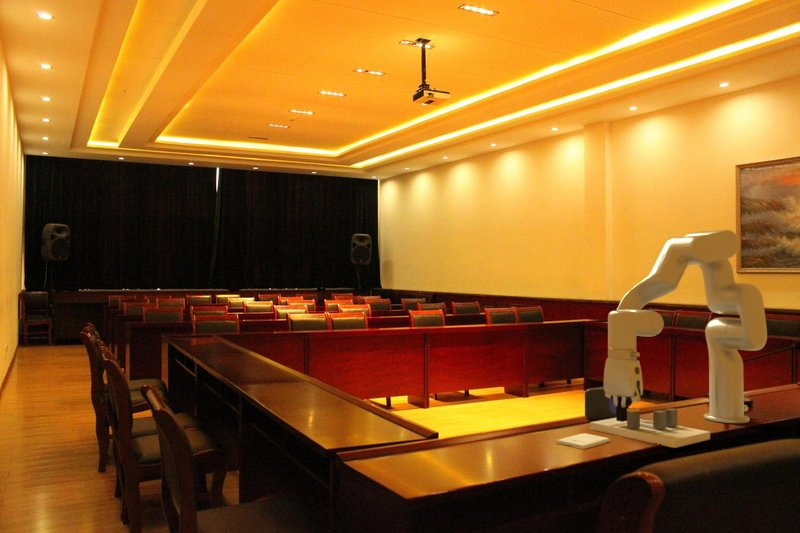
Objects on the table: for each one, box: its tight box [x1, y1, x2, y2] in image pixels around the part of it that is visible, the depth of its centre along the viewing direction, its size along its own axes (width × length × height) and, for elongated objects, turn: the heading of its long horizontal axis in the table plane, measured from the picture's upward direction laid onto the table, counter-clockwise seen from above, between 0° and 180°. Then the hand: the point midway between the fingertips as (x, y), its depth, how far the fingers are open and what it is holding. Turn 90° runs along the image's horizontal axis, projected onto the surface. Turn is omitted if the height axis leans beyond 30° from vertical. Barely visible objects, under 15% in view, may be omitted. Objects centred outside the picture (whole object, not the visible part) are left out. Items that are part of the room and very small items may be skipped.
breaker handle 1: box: [652, 409, 666, 429], centre depth 177 cm, size 3×2×4 cm, turn 126°
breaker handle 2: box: [664, 407, 678, 427], centre depth 181 cm, size 3×2×4 cm, turn 126°
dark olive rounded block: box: [584, 386, 616, 421], centre depth 203 cm, size 16×5×9 cm, turn 127°
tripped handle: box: [627, 407, 641, 429], centre depth 178 cm, size 3×2×5 cm, turn 126°
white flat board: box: [589, 417, 711, 449], centre depth 180 cm, size 17×26×2 cm, turn 36°
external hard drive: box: [555, 432, 610, 450], centre depth 170 cm, size 2×8×12 cm
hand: (622, 420), depth 181 cm, fingers closed
